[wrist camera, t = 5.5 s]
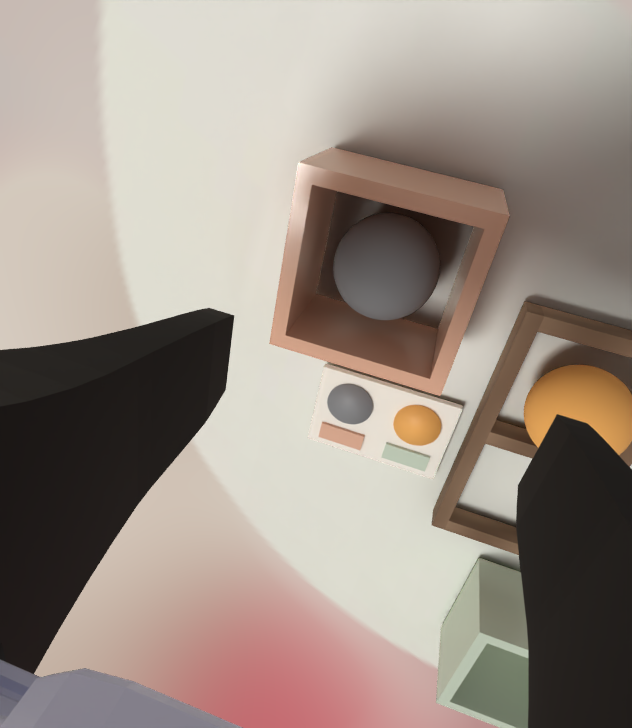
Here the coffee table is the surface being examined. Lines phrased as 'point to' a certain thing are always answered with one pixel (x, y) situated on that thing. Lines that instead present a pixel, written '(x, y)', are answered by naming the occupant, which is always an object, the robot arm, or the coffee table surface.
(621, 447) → the orange ball
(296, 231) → the pink open box
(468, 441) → the rack
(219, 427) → the coffee table surface
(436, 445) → the card
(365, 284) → the grey ball
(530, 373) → the coffee table surface
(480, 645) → the sage open box
